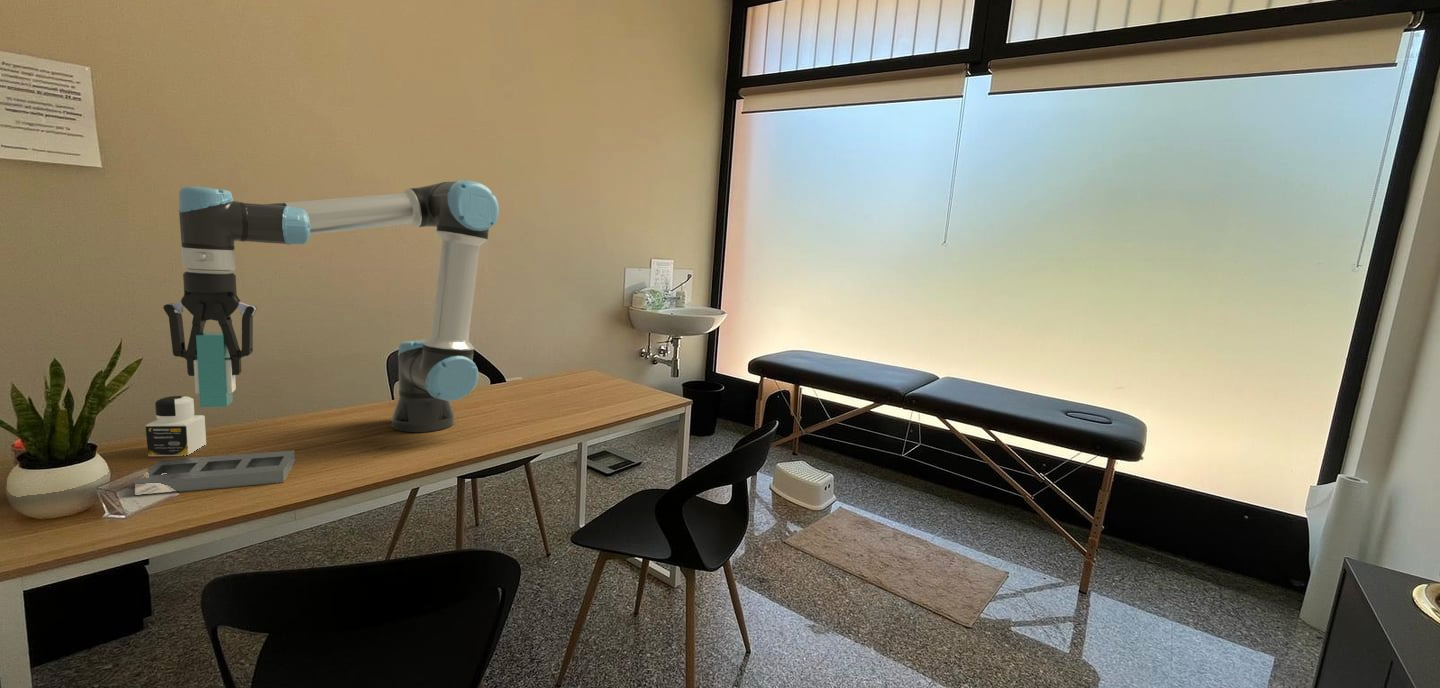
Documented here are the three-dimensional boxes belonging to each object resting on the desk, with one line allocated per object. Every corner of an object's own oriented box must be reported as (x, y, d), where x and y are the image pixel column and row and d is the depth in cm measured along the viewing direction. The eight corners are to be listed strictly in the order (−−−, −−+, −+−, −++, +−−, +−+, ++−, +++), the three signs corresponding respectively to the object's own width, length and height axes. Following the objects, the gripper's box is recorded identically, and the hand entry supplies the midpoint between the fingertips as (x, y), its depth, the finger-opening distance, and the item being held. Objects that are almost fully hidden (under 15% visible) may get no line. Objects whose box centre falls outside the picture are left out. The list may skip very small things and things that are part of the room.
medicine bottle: (147, 457, 122) (142, 402, 121) (168, 445, 129) (164, 393, 127) (188, 456, 124) (184, 402, 123) (207, 445, 131) (203, 393, 129)
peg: (232, 401, 116) (229, 332, 114) (226, 406, 112) (223, 335, 110) (206, 402, 114) (203, 332, 112) (200, 407, 111) (196, 335, 109)
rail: (295, 461, 126) (294, 450, 126) (283, 482, 115) (283, 470, 115) (160, 471, 116) (159, 460, 115) (134, 495, 105) (133, 483, 105)
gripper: (140, 269, 102) (149, 398, 106) (261, 275, 110) (266, 394, 113) (157, 267, 109) (165, 388, 112) (270, 272, 117) (274, 385, 120)
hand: (216, 391), depth 113 cm, fingers closed on peg, 4 cm apart
